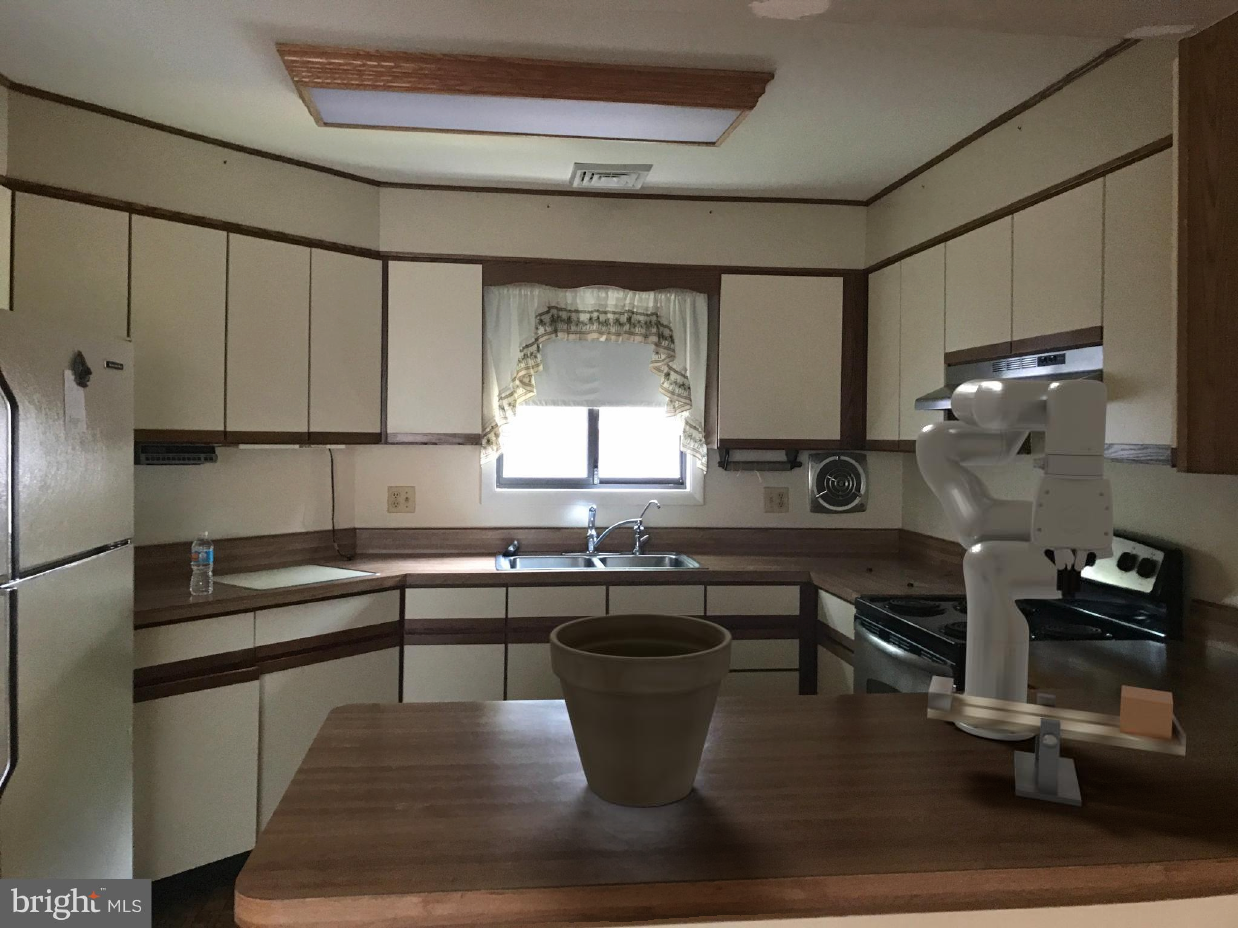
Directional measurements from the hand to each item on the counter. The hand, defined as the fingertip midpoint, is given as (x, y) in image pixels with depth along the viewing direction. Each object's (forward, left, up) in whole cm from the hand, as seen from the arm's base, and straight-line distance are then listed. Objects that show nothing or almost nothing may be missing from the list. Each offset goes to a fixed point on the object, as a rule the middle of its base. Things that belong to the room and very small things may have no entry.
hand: (1067, 596), depth 124 cm
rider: (+10, 0, -19) cm, 21 cm away
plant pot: (-54, -28, -27) cm, 67 cm away
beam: (-2, 0, -19) cm, 19 cm away
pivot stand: (-2, 0, -27) cm, 27 cm away
